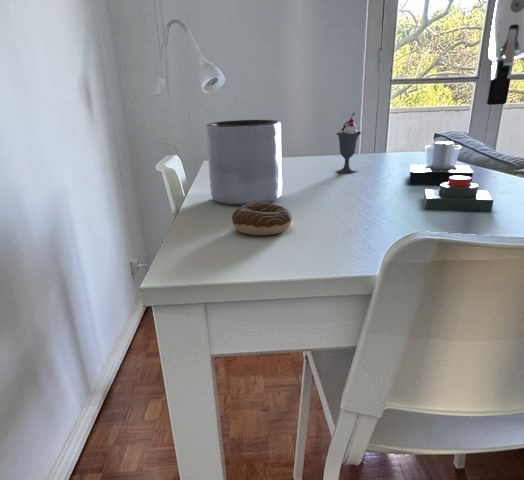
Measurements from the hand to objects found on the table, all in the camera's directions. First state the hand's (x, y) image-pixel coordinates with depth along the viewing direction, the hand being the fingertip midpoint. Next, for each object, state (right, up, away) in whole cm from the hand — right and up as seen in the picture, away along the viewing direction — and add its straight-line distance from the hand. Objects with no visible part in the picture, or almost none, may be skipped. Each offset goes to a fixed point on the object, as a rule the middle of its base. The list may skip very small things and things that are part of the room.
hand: (495, 103), depth 87 cm
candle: (+5, +3, +41) cm, 42 cm away
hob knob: (0, -1, +28) cm, 28 cm away
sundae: (-19, +5, +46) cm, 50 cm away
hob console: (0, -4, +30) cm, 30 cm away
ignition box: (-4, -16, +7) cm, 19 cm away
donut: (-43, -24, -3) cm, 50 cm away
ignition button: (-4, -13, +6) cm, 15 cm away
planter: (-47, -12, +19) cm, 52 cm away
